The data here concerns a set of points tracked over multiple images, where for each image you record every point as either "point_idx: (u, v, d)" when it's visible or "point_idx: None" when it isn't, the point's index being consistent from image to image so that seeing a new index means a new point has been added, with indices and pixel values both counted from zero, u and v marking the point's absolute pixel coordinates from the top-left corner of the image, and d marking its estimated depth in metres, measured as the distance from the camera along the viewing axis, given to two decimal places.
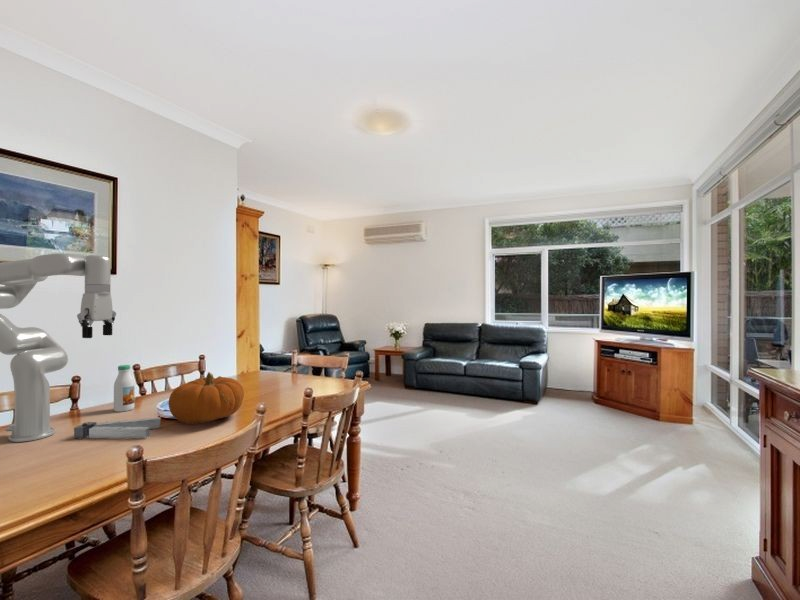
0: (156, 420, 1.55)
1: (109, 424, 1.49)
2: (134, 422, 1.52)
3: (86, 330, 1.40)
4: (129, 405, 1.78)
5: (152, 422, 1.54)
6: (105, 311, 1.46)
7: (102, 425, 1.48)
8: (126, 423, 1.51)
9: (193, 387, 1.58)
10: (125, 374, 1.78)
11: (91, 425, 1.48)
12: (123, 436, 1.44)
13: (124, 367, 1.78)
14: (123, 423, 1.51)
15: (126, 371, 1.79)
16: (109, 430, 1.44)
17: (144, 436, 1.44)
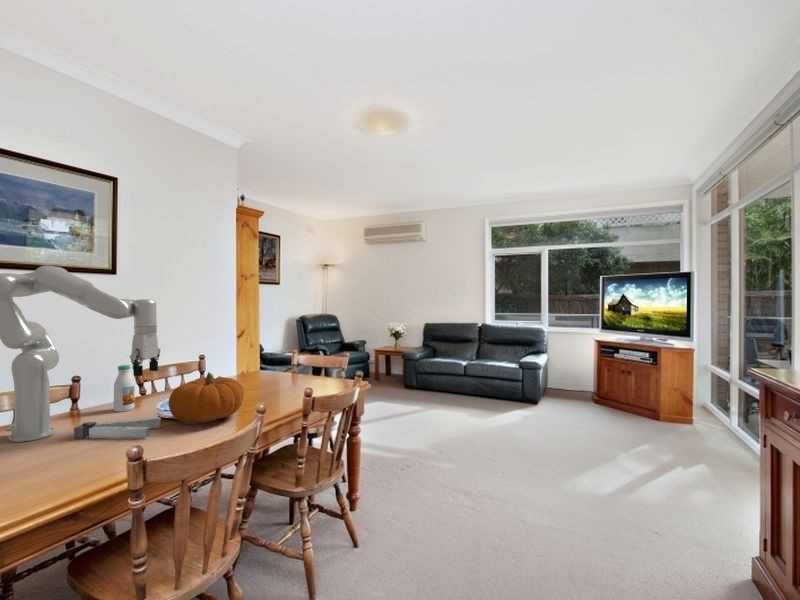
0: (156, 420, 1.55)
1: (109, 424, 1.49)
2: (134, 422, 1.52)
3: (137, 369, 1.53)
4: (129, 405, 1.78)
5: (152, 422, 1.54)
6: (152, 350, 1.59)
7: (102, 425, 1.48)
8: (126, 423, 1.51)
9: (193, 387, 1.58)
10: (125, 374, 1.78)
11: (91, 425, 1.48)
12: (123, 436, 1.44)
13: (124, 367, 1.78)
14: (123, 423, 1.51)
15: (126, 371, 1.79)
16: (109, 430, 1.44)
17: (144, 436, 1.44)
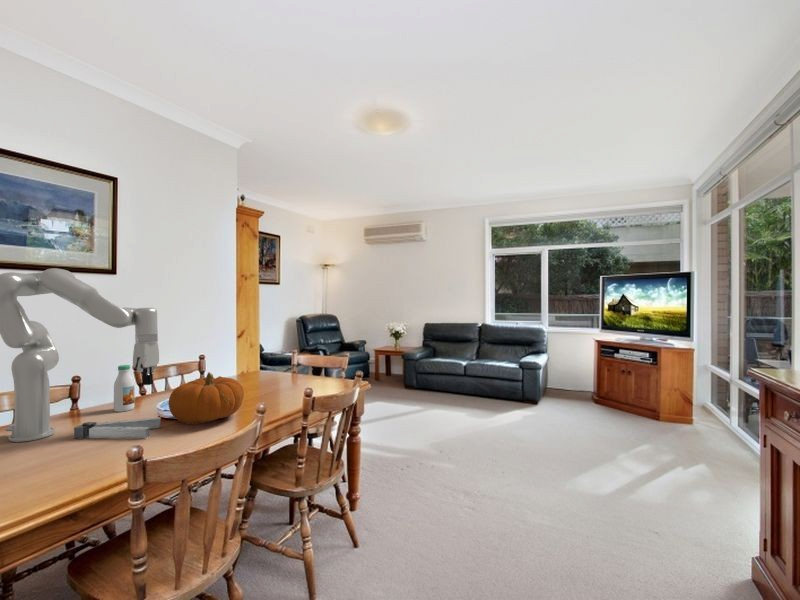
0: (156, 420, 1.55)
1: (109, 424, 1.49)
2: (134, 422, 1.52)
3: (146, 378, 1.58)
4: (129, 405, 1.78)
5: (152, 422, 1.54)
6: (153, 358, 1.60)
7: (102, 425, 1.48)
8: (126, 423, 1.51)
9: (193, 387, 1.58)
10: (125, 374, 1.78)
11: (91, 425, 1.48)
12: (123, 436, 1.44)
13: (124, 367, 1.78)
14: (123, 423, 1.51)
15: (126, 371, 1.79)
16: (109, 430, 1.44)
17: (144, 436, 1.44)
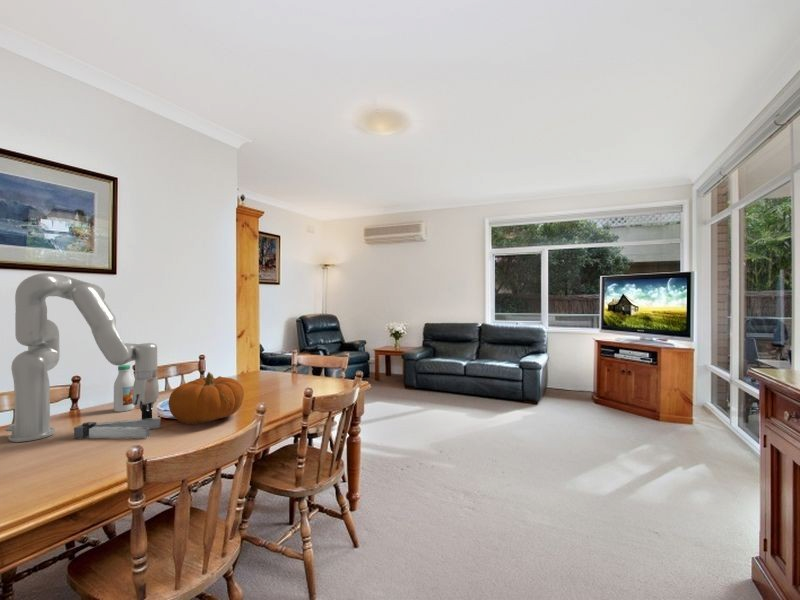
0: (156, 420, 1.55)
1: (109, 424, 1.49)
2: (134, 422, 1.52)
3: (145, 414, 1.58)
4: (129, 405, 1.78)
5: (152, 422, 1.54)
6: (153, 394, 1.60)
7: (102, 425, 1.48)
8: (126, 423, 1.51)
9: (193, 387, 1.58)
10: (125, 374, 1.78)
11: (91, 425, 1.48)
12: (123, 436, 1.44)
13: (124, 367, 1.78)
14: (123, 423, 1.51)
15: (126, 371, 1.79)
16: (109, 430, 1.44)
17: (144, 436, 1.44)
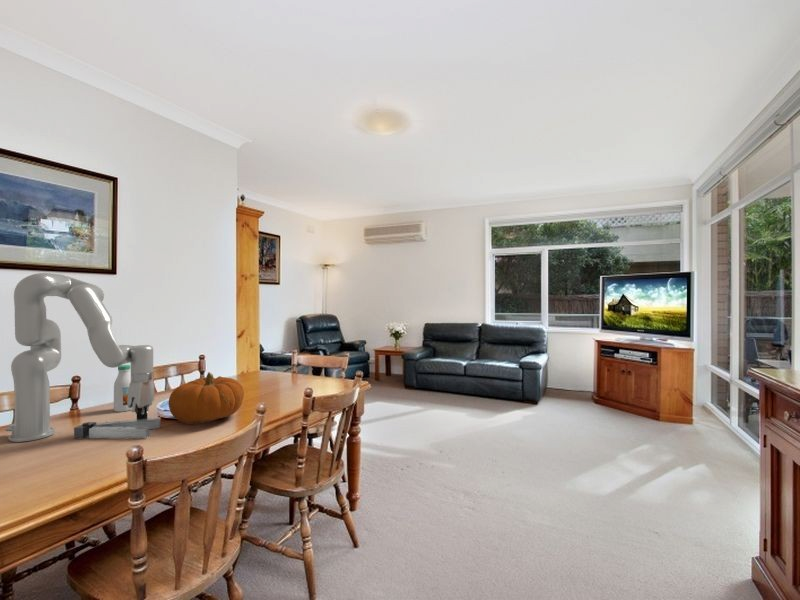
0: (156, 420, 1.55)
1: (109, 424, 1.49)
2: (134, 422, 1.52)
3: (140, 417, 1.55)
4: None
5: (152, 422, 1.54)
6: (149, 396, 1.57)
7: (102, 425, 1.48)
8: (126, 423, 1.51)
9: (193, 387, 1.58)
10: (125, 374, 1.78)
11: (91, 425, 1.48)
12: (123, 436, 1.44)
13: (124, 367, 1.78)
14: (123, 423, 1.51)
15: (126, 371, 1.79)
16: (109, 430, 1.44)
17: (144, 436, 1.44)
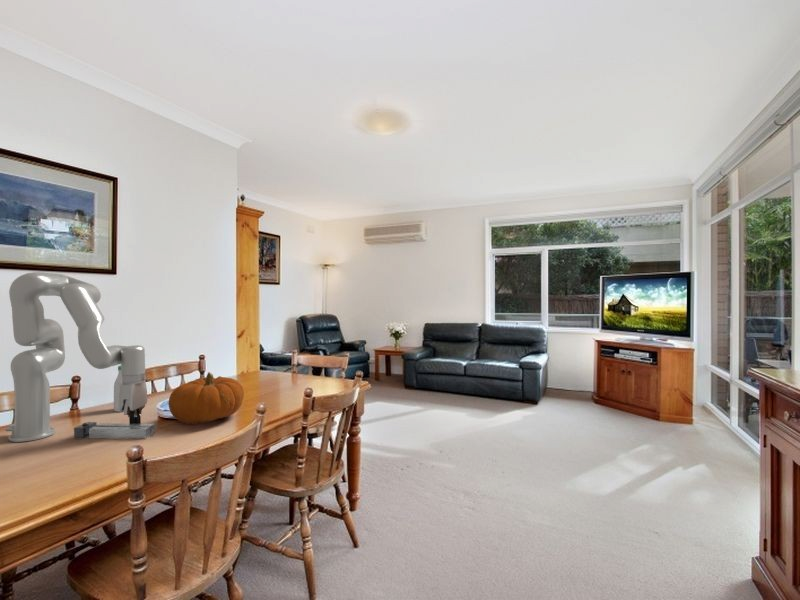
0: None
1: (106, 426, 1.47)
2: (128, 426, 1.47)
3: (133, 420, 1.50)
4: None
5: None
6: (141, 398, 1.52)
7: (101, 426, 1.47)
8: None
9: (193, 387, 1.58)
10: None
11: (91, 425, 1.48)
12: (123, 436, 1.44)
13: None
14: (118, 426, 1.47)
15: None
16: (109, 430, 1.44)
17: (144, 436, 1.44)
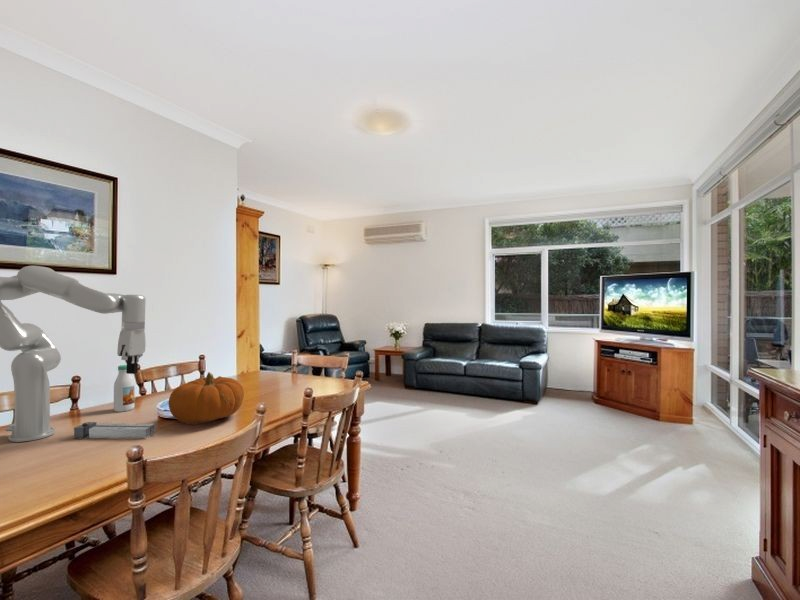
0: None
1: (107, 426, 1.47)
2: (128, 426, 1.47)
3: (130, 366, 1.54)
4: (129, 405, 1.78)
5: None
6: (139, 346, 1.56)
7: (101, 426, 1.47)
8: None
9: (193, 387, 1.58)
10: (125, 374, 1.78)
11: (91, 425, 1.48)
12: (123, 436, 1.44)
13: (124, 367, 1.78)
14: (118, 426, 1.47)
15: None
16: (109, 430, 1.44)
17: (144, 436, 1.44)
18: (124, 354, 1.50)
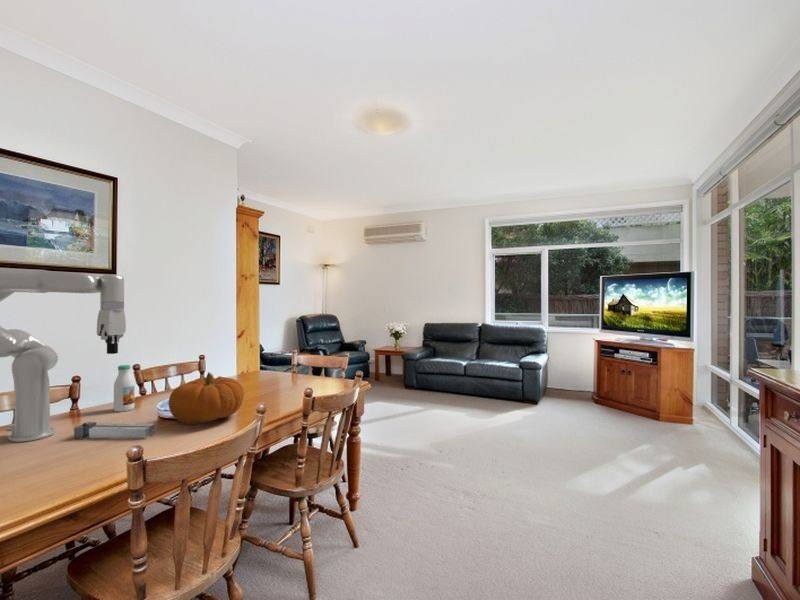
0: None
1: (107, 426, 1.47)
2: (128, 426, 1.47)
3: (110, 346, 1.54)
4: (129, 405, 1.78)
5: None
6: (119, 326, 1.56)
7: (101, 426, 1.47)
8: None
9: (193, 387, 1.58)
10: (125, 374, 1.78)
11: (91, 425, 1.48)
12: (123, 436, 1.44)
13: (124, 367, 1.78)
14: (118, 426, 1.47)
15: (126, 371, 1.79)
16: (109, 430, 1.44)
17: (144, 436, 1.44)
18: (103, 334, 1.50)
